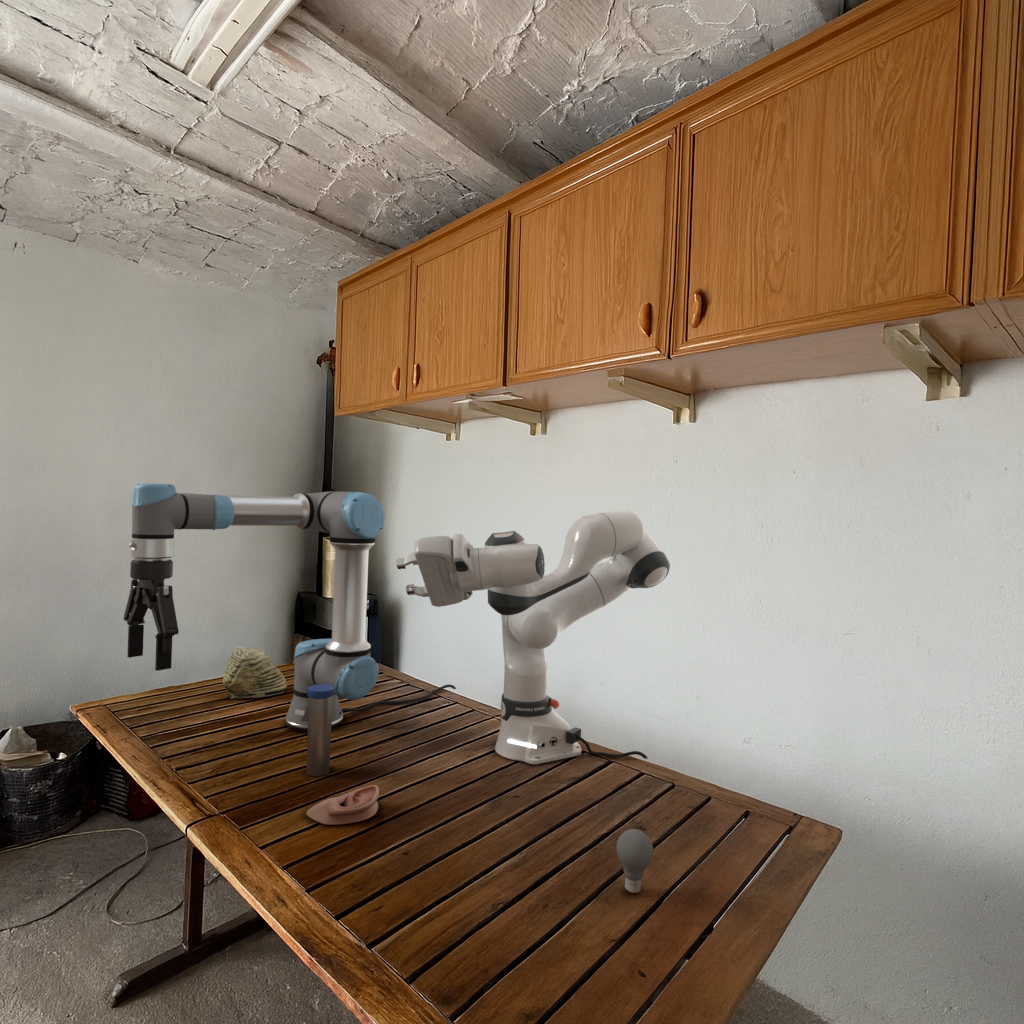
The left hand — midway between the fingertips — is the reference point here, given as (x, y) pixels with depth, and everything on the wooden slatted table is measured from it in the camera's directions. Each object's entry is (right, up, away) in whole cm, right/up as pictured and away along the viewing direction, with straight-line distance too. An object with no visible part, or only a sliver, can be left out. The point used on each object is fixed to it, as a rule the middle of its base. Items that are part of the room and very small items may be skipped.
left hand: (148, 662), depth 129 cm
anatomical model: (+40, -30, -2) cm, 50 cm away
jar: (+29, -29, +17) cm, 45 cm away
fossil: (-6, -27, +69) cm, 74 cm away
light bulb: (+94, -33, -24) cm, 103 cm away
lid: (+30, -10, +16) cm, 36 cm away
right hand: (+51, +17, +3) cm, 54 cm away
